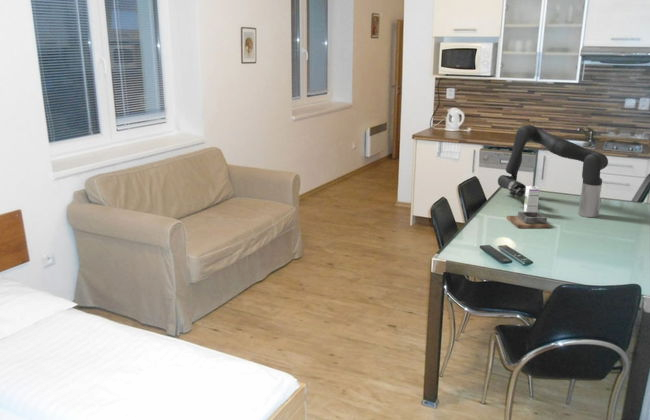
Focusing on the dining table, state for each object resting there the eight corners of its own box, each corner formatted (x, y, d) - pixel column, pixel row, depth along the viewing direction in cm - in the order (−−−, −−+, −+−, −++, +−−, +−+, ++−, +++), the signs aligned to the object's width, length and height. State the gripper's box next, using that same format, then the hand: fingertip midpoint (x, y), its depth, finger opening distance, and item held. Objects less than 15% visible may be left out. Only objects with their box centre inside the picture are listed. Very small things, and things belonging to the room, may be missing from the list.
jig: (536, 218, 300) (537, 210, 299) (549, 228, 285) (550, 219, 283) (506, 218, 299) (507, 210, 298) (517, 228, 284) (518, 219, 283)
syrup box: (537, 215, 306) (540, 188, 302) (526, 215, 306) (529, 188, 302) (533, 212, 311) (536, 186, 307) (522, 211, 311) (525, 185, 307)
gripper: (505, 181, 326) (515, 188, 310) (530, 181, 326) (541, 188, 311) (504, 194, 328) (514, 202, 312) (528, 194, 328) (540, 202, 313)
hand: (528, 195), depth 311 cm, fingers open, 8 cm apart
